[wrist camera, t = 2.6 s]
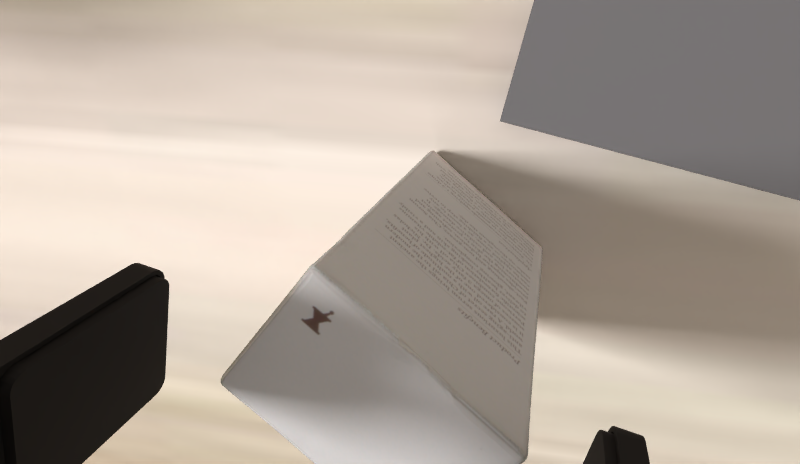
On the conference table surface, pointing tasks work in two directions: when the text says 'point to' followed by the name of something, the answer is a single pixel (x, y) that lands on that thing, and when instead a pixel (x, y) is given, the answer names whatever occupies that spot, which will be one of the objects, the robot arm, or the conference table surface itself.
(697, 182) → the conference table surface
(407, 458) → the skincare box
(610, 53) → the mat
